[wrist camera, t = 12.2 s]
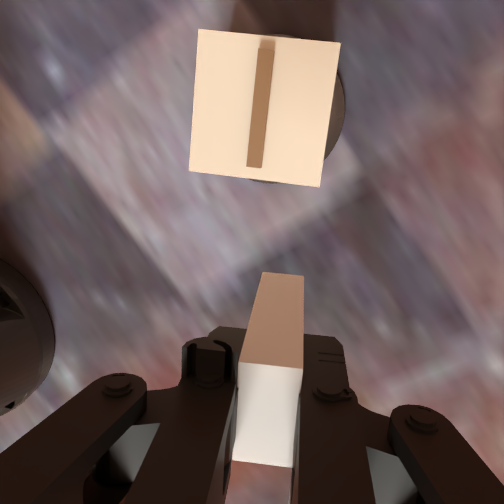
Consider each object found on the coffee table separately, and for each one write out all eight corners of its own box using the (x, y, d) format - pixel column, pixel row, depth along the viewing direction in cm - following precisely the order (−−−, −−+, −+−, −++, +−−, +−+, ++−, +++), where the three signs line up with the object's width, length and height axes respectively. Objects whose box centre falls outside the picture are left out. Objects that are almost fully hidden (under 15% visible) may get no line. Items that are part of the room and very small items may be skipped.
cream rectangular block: (216, 158, 35) (186, 172, 26) (225, 48, 33) (195, 27, 24) (318, 171, 34) (319, 188, 26) (334, 60, 32) (341, 41, 24)
